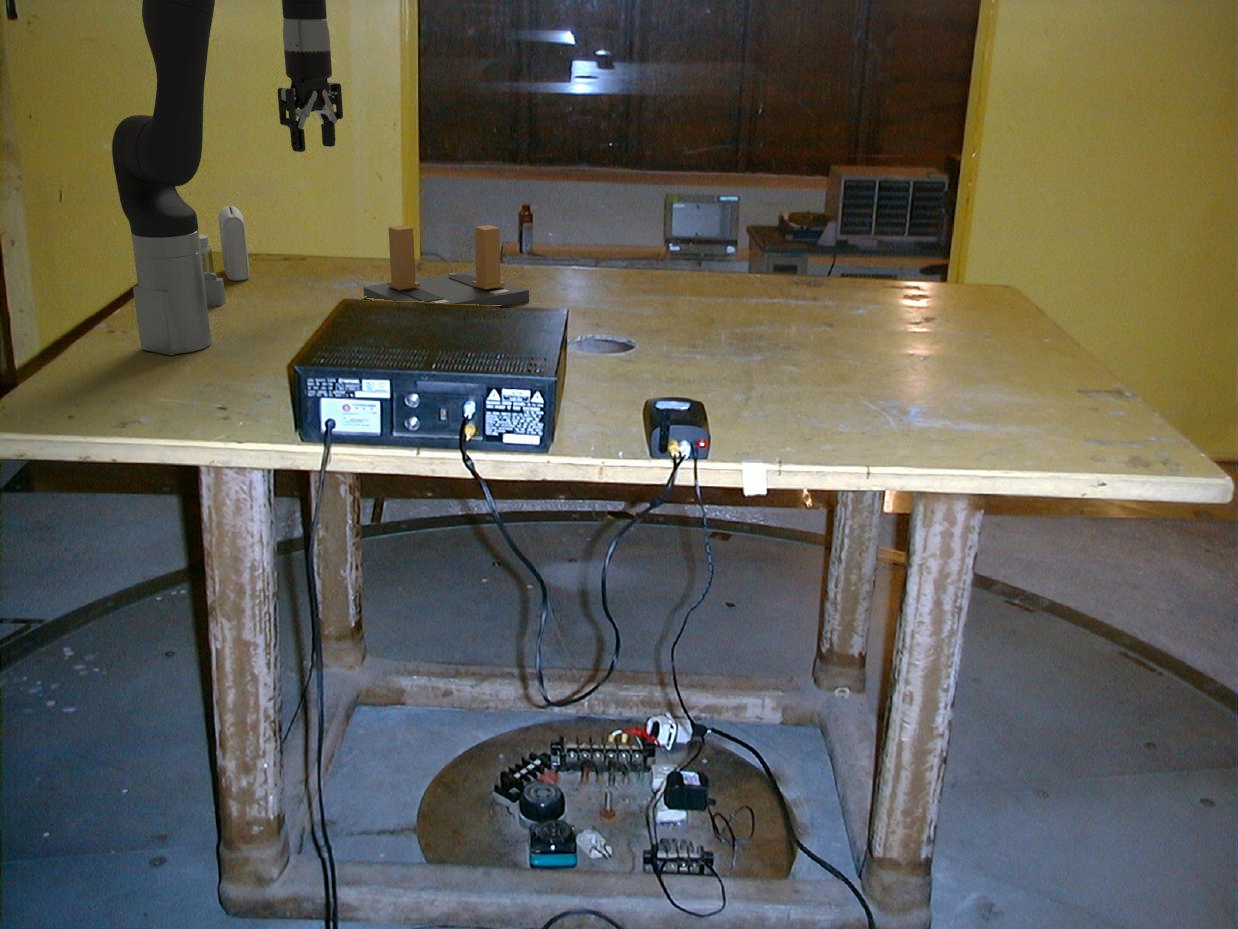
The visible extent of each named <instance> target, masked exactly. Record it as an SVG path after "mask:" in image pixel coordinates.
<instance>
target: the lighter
mask: <svg viewBox="0 0 1238 929" xmlns="http://www.w3.org/2000/svg"><path fill="white" fill-rule="evenodd" d="M203 274H204V283H205V292H206V301H207V306H216V307H217V306H220V307H221V306H224V305H226V292H225V284H224V278H223V277H218V275H217V274H216V273H215V272H214V273H210V272H204V273H203Z"/></svg>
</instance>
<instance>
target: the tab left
mask: <svg viewBox="0 0 1238 929" xmlns="http://www.w3.org/2000/svg"><path fill="white" fill-rule="evenodd" d="M387 227H388V242H389V243H388V244H389V246H388V247H389V261H390V262H389V263H390V280H389V281H387V285H388V286H391V287H393V288H396V289H398V290H402V289H409V288H415V287H420V283H418V282H416V280H415V279H416V261H415V258H416V257H415V241H414V240H415V239H414V238H415V237H414V228H413V227H411V226H409V225H406V224H401V225H396V226H395V225H394V226H387Z"/></svg>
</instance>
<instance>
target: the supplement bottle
mask: <svg viewBox="0 0 1238 929" xmlns="http://www.w3.org/2000/svg"><path fill="white" fill-rule="evenodd" d="M199 239H200V247H201V257H202V266H203V273H204V272H210V273H215V268H214V261H213V259H214V258H213V250H212V247H211V246H210V245H209V236H208V235H206V234H200V233H199Z"/></svg>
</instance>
